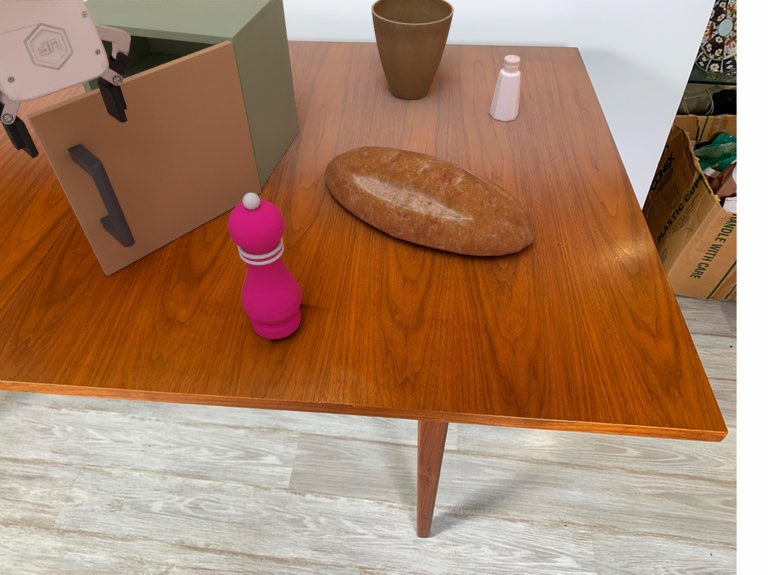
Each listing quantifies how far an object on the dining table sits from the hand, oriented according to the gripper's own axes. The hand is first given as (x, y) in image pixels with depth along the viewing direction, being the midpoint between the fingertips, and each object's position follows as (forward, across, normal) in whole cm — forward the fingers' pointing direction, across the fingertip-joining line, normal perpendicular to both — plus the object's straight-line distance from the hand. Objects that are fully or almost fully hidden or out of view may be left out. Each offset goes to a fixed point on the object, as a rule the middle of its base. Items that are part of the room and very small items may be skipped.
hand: (76, 134), depth 61 cm
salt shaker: (+22, +71, -8) cm, 75 cm away
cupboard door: (+23, +11, +3) cm, 26 cm away
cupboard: (+23, +26, +22) cm, 41 cm away
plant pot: (+22, +66, +11) cm, 71 cm away
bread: (+23, +39, -16) cm, 48 cm away
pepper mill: (+24, +9, -18) cm, 31 cm away
